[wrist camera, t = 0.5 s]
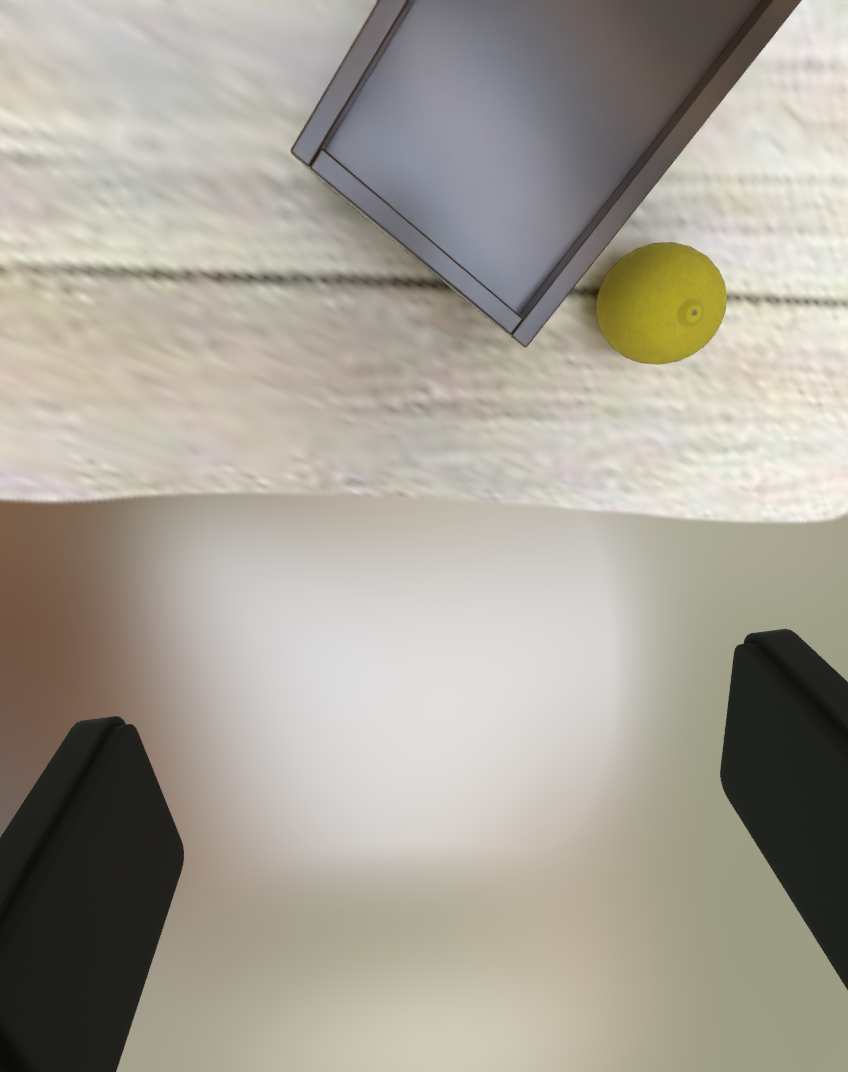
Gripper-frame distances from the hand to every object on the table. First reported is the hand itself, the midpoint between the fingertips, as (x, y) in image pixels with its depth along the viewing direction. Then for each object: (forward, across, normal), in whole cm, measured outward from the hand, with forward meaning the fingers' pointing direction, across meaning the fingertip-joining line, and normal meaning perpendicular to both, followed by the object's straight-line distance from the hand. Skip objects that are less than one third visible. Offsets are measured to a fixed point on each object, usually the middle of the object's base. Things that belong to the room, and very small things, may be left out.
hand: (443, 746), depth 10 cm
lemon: (+28, -13, -3) cm, 31 cm away
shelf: (+28, -6, -12) cm, 31 cm away
